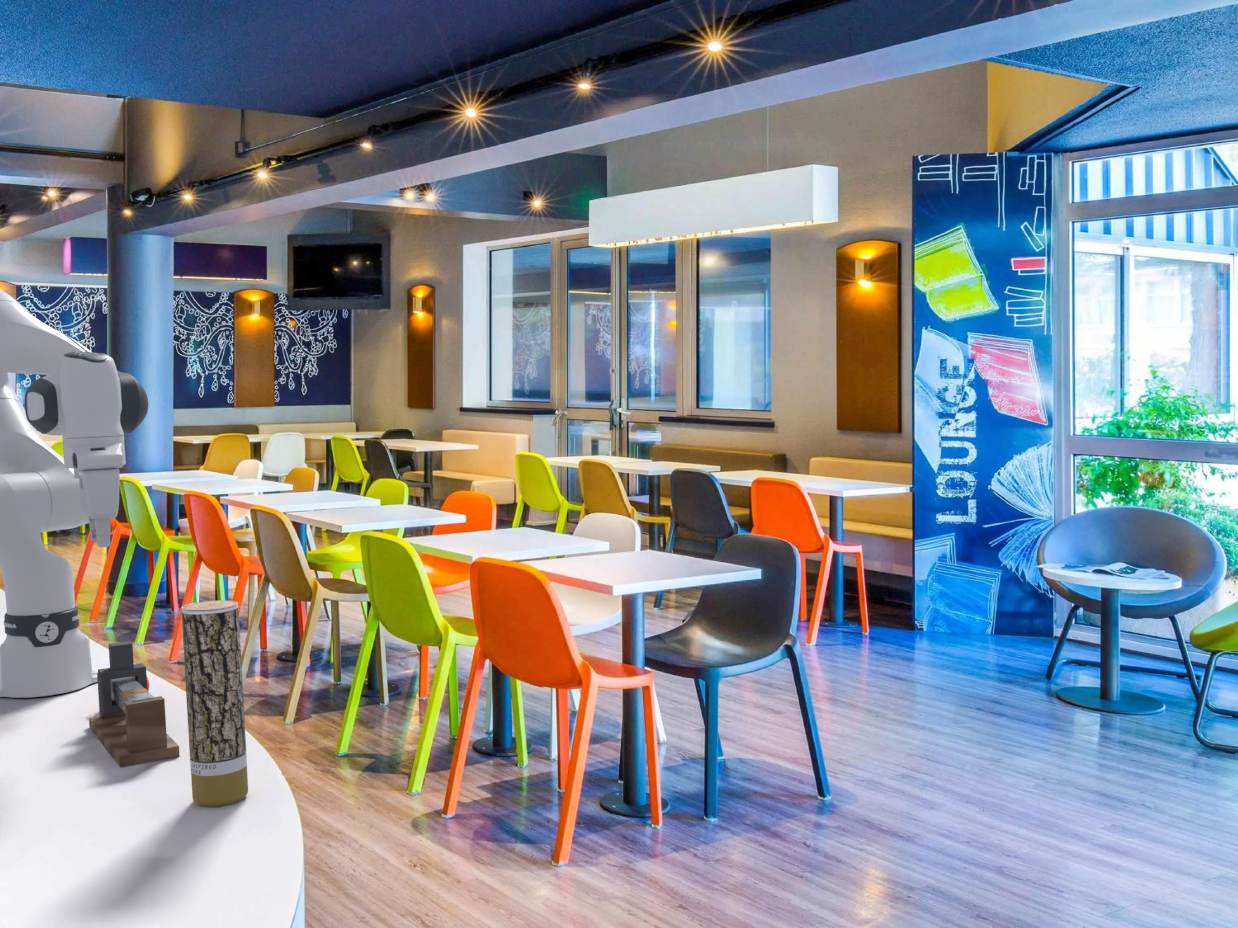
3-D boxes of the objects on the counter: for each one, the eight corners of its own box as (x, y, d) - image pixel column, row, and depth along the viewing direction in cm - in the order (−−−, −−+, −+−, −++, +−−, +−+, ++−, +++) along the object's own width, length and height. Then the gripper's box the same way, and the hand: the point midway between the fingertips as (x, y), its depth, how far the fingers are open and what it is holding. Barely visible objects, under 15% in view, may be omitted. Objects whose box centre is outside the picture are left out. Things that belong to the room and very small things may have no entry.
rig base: (89, 727, 189) (86, 673, 188) (143, 718, 193) (140, 665, 192) (120, 767, 168) (116, 707, 167) (179, 756, 172) (176, 697, 171)
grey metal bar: (105, 692, 188) (104, 672, 188) (126, 689, 190) (125, 669, 190) (134, 723, 170) (132, 701, 170) (157, 719, 171) (155, 698, 171)
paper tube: (231, 809, 149) (220, 610, 147) (181, 807, 150) (170, 610, 149) (258, 791, 156) (248, 600, 154) (210, 789, 157) (200, 600, 155)
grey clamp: (100, 710, 184) (96, 644, 183) (144, 703, 187) (140, 638, 186) (103, 714, 181) (99, 648, 181) (148, 707, 185) (144, 642, 184)
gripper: (67, 455, 195) (73, 539, 196) (78, 458, 177) (84, 552, 178) (109, 452, 198) (114, 536, 199) (124, 456, 180) (130, 547, 181)
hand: (100, 543), depth 188 cm, fingers open, 8 cm apart
